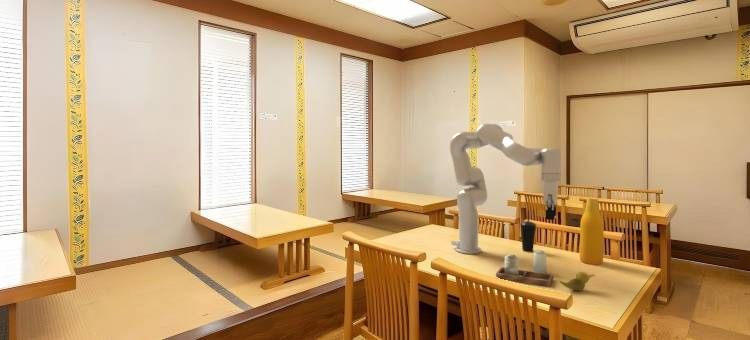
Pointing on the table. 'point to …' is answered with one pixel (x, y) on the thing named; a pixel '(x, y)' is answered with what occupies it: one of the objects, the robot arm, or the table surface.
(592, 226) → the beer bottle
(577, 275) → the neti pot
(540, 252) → the celadon canister
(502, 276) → the walnut tray
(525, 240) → the drinking cup
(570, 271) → the table surface
